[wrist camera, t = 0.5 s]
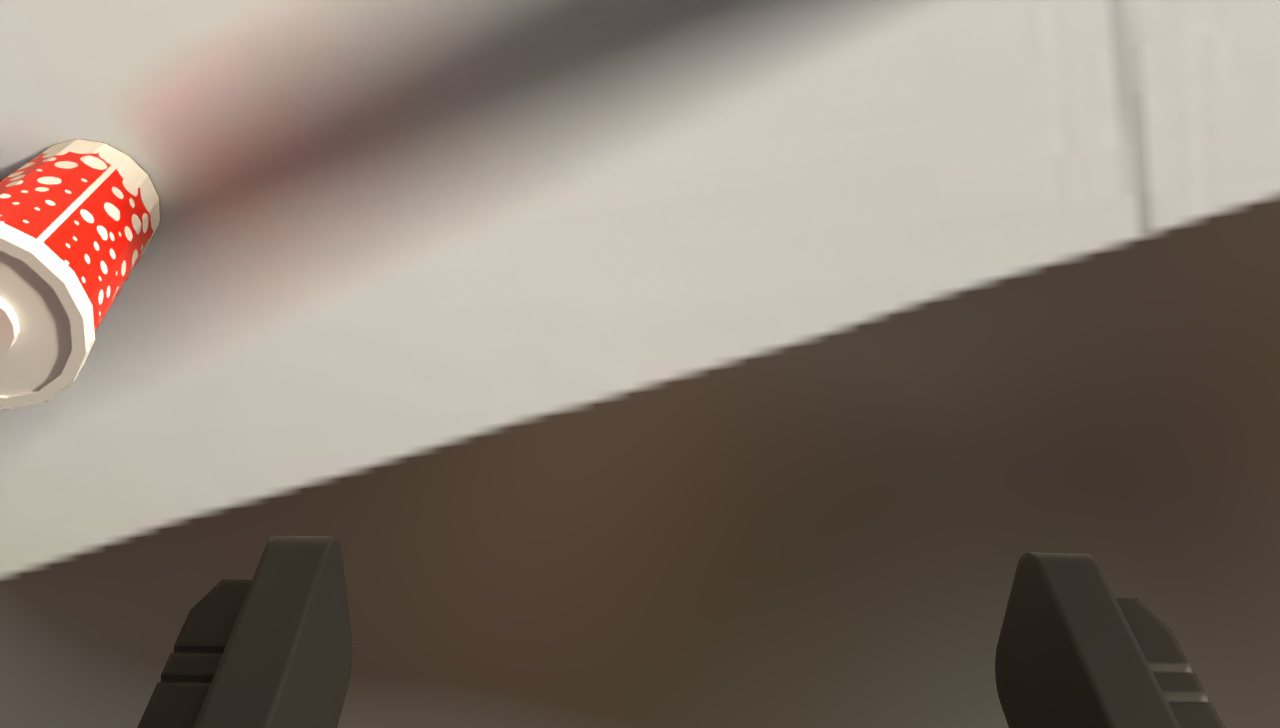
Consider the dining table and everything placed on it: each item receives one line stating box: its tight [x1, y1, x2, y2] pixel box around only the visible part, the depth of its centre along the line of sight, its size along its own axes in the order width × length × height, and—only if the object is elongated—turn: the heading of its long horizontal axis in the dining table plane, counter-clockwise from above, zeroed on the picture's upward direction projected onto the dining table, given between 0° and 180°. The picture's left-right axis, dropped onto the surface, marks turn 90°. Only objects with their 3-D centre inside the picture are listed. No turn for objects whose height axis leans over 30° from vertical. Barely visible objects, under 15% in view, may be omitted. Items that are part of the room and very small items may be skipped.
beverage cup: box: [0, 139, 160, 409], centre depth 37 cm, size 6×6×14 cm
